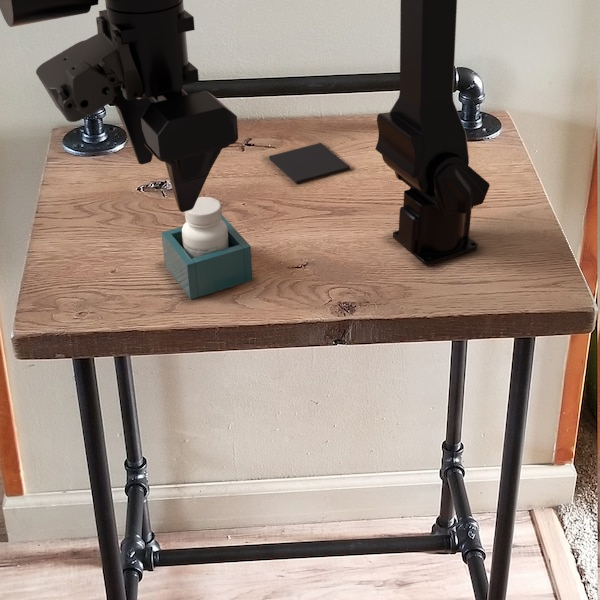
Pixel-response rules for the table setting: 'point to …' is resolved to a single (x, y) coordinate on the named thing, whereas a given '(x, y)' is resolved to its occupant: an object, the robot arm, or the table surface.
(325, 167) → the mat
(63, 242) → the table surface
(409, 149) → the robot arm
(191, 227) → the pill bottle
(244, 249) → the holder
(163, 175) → the table surface
